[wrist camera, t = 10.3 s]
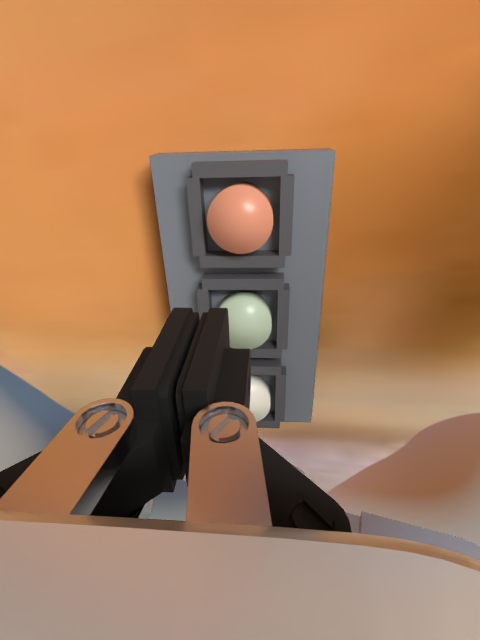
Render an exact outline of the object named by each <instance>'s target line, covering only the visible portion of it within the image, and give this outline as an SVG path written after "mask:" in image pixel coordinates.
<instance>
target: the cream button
mask: <svg viewBox="0 0 480 640" xmlns="http://www.w3.org/2000/svg"><path fill="white" fill-rule="evenodd" d="M249 410H250V411H251V412H252V413H253V415H254V418H255V420H256V422H257V421H260V420H261V419H263V418H264V417H265V416H266V415H267V414H268V413H269V410H270V387H269V385H268V383H267V382H266V380H265V379H263V378H262V377H261V376H259V375H251V392H250V407H249Z"/></svg>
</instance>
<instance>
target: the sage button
mask: <svg viewBox="0 0 480 640" xmlns="http://www.w3.org/2000/svg"><path fill="white" fill-rule="evenodd" d="M218 308H227V309H228V318H229V338H230V347H231V348H236V349H250V350H251V349H254V348H257V347H259V346H261V345H262V344H263V343H264V342H265V341H266V340H267V339H268V337H269V336H270V333H271V329H272V315H271V309H270V306H269V304H268V303H267V301H266V300H265V299H264V298H263V297H262V296H260V295H259V294H257V293H254V292H251V291H244V290H243V291H236V292H233V293H231V294H229V295H227V296H226V297H225V298H224V299H223V300H222V301H221V303H220V304H219V307H218Z"/></svg>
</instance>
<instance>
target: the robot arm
mask: <svg viewBox="0 0 480 640" xmlns="http://www.w3.org/2000/svg"><path fill="white" fill-rule="evenodd" d="M250 392H251V353H250V349H236V348H230V338H229V318H228V309H227V308H209V311H208V312H203V313H202V316H201V319H200V317H199V313H198V312H193V309H192V308H173V310H172V311H171V313H170V315H169V317H168V319H167V321H166V323H165V325H164V327H163V328H162V330H161V332H160V334H159V336H158V338H157V340H156V342H155V344H154V345H153V347H146V348H145V349H144V350H143V352H142V353H141V355H140V357H139V359H138V360H137V362H136V364H135V366H134V368H133V369H132V371H131V373H130V375H129V376H128V378H127V380H126V382H125V383H124V385H123V387H122V389H121V391H120V392H119V394H118V396H117V398H116V399H103V400H99V401H96V402H93V403H90V404H89V405H87V406H85V407H83V408H82V409H80V410H79V411H78V412H77V413H76V414H75V415H74V416H73V417H72V418H71V419H70V421H69V422H68V423H67V424H66V425H65V426H64V427H63V428H62V430H61V431H60V432H59V433H58V434H57V435H56V436H55V438H54V439H53V440H52V441H51V442H50V443H49V444H48V445H47V446H46V448H45V449H44V450H43V451H41V452H39V453H37V454H35V455H33V456H31V457H29V458H27V459H25V460H23V461H21V462H19V463H17V464H15V465H13V466H11V467H9V468H7V469H5V470H3V471H1V472H0V640H480V547H479V546H478V545H476V544H474V543H472V542H469V541H467V540H465V539H463V538H459V537H456V536H452V535H448V534H444V533H440V532H437V531H433V530H429V529H426V528H422V527H418V526H415V525H411V524H407V523H403V522H400V521H396V520H392V519H388V518H384V517H381V516H377V515H373V514H370V513H366V512H362V513H361V517H360V516H357V515H353V514H349V513H346V512H345V511H344V510H343V509H342V508H341V506H339V504H338V503H337V502H336V501H335V500H334V499H332V498H331V497H330V496H329V495H328V494H326V493H325V492H324V491H323V490H322V489H320V488H319V487H318V486H317V485H316V484H314V483H313V482H312V481H311V480H310V479H308V478H307V477H306V476H305V475H304V474H302V473H301V472H300V471H299V470H297V469H296V468H295V467H294V466H293V465H291V464H290V463H289V462H288V461H287V460H285V459H284V458H283V457H282V456H281V455H279V454H278V453H277V452H276V451H275V450H273V449H272V448H271V447H270V446H269V445H267V444H266V443H265V442H264V441H262V440H261V439H260V438H259V437H258V432H257V425H256V420H255V418H254V415H253V413H252V412H251V411H250V410H249V407H250ZM185 474H186V481H187V487H188V494H187V511H186V512H187V513H186V521H175V520H157V519H148V518H149V516H150V514H151V512H152V508H153V505H154V500H153V498H154V497H156V496H157V495H159V494H160V493H162V492H174V488H175V484H176V480H177V479H181V480H182V479H183V478H184V475H185Z"/></svg>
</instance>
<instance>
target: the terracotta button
mask: <svg viewBox="0 0 480 640" xmlns="http://www.w3.org/2000/svg"><path fill="white" fill-rule="evenodd" d="M207 227H208V230H209V233H210V235H211V237H212V239H213V240H214V241H215V243H216V244H217V245H218V246H220V247H221V248H222V249H224V250H226V251H228V252H231V253H235V254H246V253H250V252H253V251H255V250H257V249H259V248H260V247H261V246H262V245H264V243H265V242H266V241H267V240H268V238H269V236H270V234H271V232H272V228H273V209H272V205H271V202H270V200H269V198H268V197H267V195H266V194H265V193H264V192H263V191H262V190H261V189H260V188H258V187H256V186H254V185H252V184H249V183H234V184H231V185H228V186H227V187H225V188H223V189H222V190H221V191H220V192H219V193H218V194H217V196H216V197H215V198H214V200H213V201H212V203H211V204H210V207H209V209H208V213H207Z"/></svg>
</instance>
